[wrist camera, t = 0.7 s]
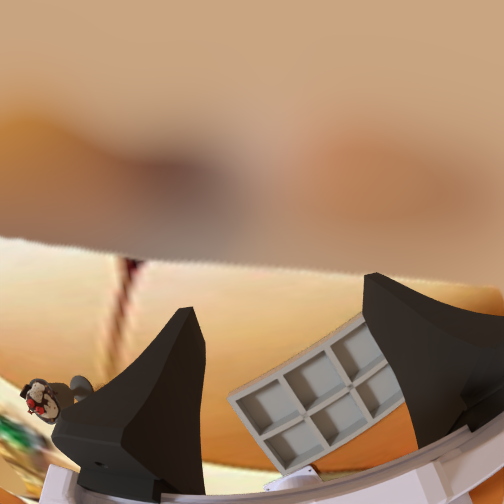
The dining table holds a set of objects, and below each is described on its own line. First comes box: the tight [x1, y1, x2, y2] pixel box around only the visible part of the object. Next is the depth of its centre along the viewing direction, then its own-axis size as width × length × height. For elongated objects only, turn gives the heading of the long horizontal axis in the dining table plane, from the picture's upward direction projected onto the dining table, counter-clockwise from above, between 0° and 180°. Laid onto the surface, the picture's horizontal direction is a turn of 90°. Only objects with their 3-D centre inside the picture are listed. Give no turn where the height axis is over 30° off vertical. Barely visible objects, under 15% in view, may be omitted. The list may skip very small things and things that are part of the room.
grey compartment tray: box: [227, 312, 405, 476], centre depth 33 cm, size 14×21×3 cm
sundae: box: [20, 376, 93, 425], centre depth 28 cm, size 7×7×15 cm
